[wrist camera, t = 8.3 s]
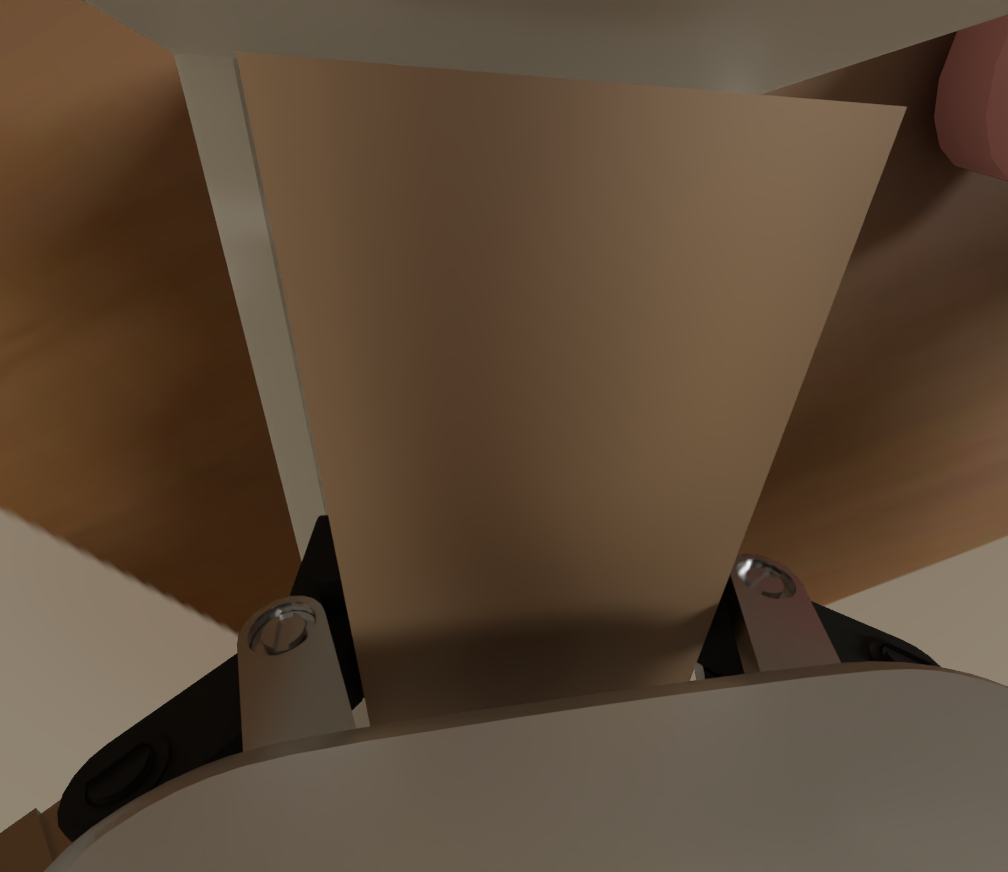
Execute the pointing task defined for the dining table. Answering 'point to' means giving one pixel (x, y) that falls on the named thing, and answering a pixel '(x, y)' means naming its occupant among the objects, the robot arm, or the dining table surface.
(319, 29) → the stand
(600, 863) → the robot arm
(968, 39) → the pink vase
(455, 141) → the brown wooden block
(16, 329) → the dining table surface
